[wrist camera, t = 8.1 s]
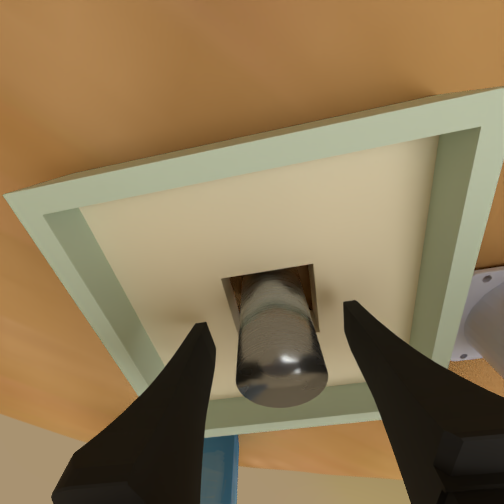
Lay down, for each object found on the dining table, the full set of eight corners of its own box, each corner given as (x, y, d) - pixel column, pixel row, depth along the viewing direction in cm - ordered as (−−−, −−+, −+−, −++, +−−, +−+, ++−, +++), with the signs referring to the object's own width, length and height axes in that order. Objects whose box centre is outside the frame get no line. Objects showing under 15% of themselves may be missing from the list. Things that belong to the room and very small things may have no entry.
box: (438, 94, 11) (524, 83, 8) (402, 360, 19) (435, 414, 16) (71, 174, 13) (2, 194, 9) (183, 387, 21) (169, 441, 18)
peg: (301, 255, 15) (335, 348, 9) (296, 302, 17) (321, 408, 11) (241, 254, 15) (234, 347, 9) (242, 301, 17) (236, 407, 11)
